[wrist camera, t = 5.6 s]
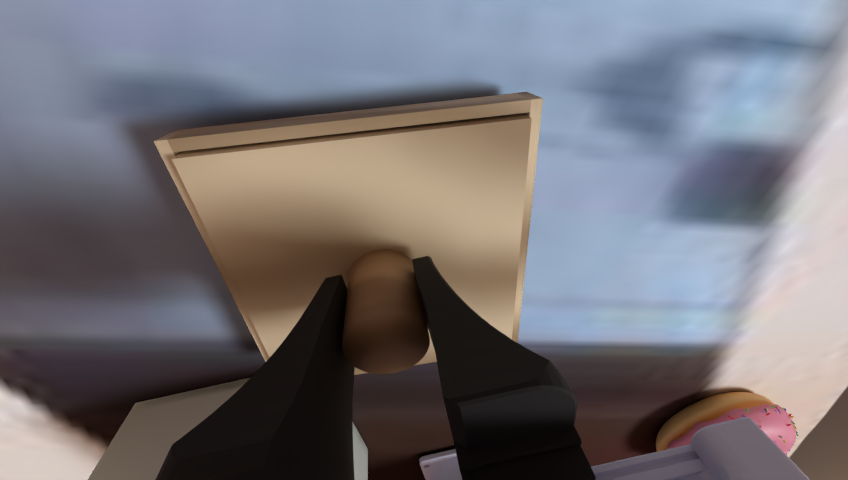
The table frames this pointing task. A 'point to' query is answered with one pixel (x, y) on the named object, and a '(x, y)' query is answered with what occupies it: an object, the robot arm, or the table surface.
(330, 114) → the lid
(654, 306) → the table surface
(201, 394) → the storage box
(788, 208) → the table surface
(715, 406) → the doughnut
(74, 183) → the table surface
